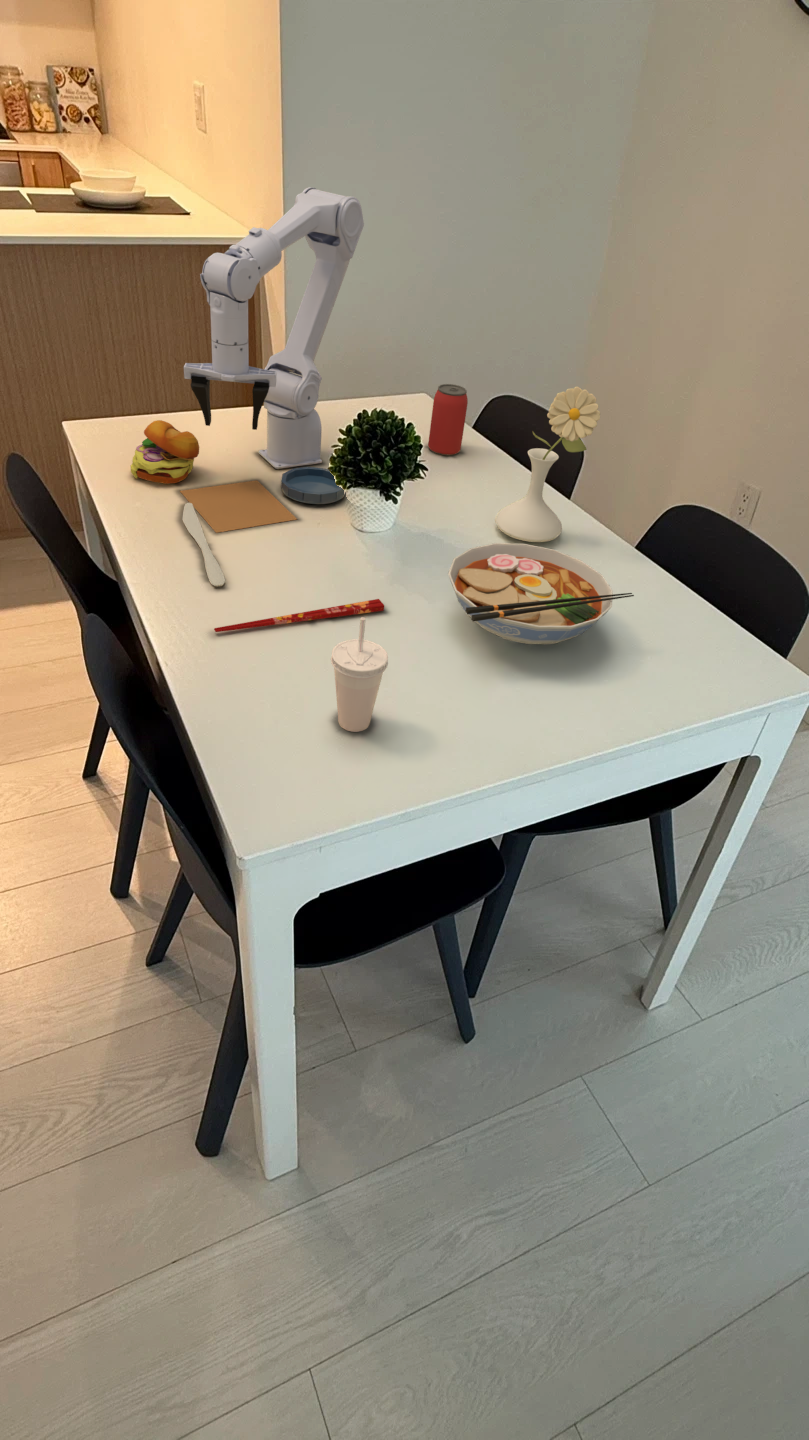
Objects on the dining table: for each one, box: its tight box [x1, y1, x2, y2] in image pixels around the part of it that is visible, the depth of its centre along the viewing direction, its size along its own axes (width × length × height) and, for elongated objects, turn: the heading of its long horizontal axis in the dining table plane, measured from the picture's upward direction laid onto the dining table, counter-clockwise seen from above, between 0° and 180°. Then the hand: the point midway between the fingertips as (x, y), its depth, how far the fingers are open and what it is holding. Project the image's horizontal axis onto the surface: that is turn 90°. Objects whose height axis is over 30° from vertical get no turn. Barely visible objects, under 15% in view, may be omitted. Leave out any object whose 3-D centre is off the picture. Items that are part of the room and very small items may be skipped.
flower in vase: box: [494, 386, 601, 543], centre depth 139 cm, size 13×11×25 cm
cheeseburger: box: [130, 419, 200, 485], centre depth 148 cm, size 10×11×10 cm
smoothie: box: [330, 616, 389, 733], centre depth 98 cm, size 6×6×14 cm
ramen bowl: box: [447, 542, 635, 645], centre depth 120 cm, size 25×23×8 cm
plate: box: [280, 466, 345, 505], centre depth 149 cm, size 11×11×2 cm
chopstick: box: [213, 598, 385, 633], centre depth 118 cm, size 2×24×1 cm, turn 116°
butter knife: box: [181, 502, 226, 587], centre depth 132 cm, size 1×27×3 cm
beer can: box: [427, 383, 469, 456], centre depth 169 cm, size 7×7×12 cm
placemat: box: [179, 479, 298, 534], centre depth 144 cm, size 14×16×1 cm
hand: (231, 425), depth 145 cm, fingers open, 7 cm apart
